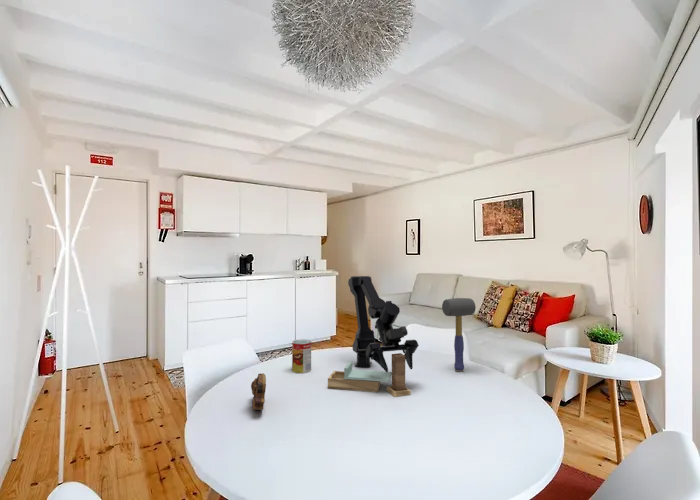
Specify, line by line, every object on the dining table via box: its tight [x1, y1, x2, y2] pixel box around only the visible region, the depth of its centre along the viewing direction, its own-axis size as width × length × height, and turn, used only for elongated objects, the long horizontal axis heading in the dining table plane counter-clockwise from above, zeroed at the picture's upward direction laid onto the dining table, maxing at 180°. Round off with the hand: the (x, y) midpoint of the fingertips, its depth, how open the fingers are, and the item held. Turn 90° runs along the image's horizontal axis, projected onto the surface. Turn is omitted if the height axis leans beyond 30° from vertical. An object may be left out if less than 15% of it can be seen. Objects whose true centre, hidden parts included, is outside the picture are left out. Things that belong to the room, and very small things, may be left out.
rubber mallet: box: [441, 297, 477, 372], centre depth 148 cm, size 12×8×30 cm, turn 107°
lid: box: [343, 361, 392, 383], centre depth 129 cm, size 9×16×4 cm, turn 79°
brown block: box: [391, 353, 406, 391], centre depth 124 cm, size 4×4×13 cm
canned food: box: [291, 338, 312, 374], centre depth 148 cm, size 8×8×12 cm
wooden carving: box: [250, 372, 267, 411], centre depth 111 cm, size 16×5×10 cm, turn 21°
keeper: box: [386, 385, 412, 398], centre depth 123 cm, size 6×6×2 cm
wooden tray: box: [327, 370, 382, 393], centre depth 130 cm, size 9×18×4 cm, turn 79°
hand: (399, 370), depth 123 cm, fingers open, 9 cm apart
